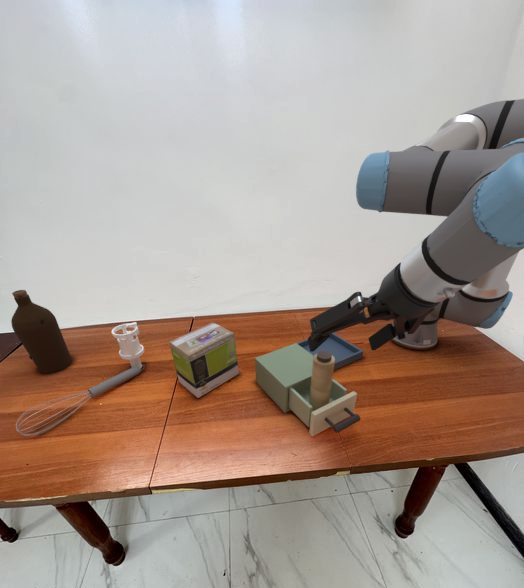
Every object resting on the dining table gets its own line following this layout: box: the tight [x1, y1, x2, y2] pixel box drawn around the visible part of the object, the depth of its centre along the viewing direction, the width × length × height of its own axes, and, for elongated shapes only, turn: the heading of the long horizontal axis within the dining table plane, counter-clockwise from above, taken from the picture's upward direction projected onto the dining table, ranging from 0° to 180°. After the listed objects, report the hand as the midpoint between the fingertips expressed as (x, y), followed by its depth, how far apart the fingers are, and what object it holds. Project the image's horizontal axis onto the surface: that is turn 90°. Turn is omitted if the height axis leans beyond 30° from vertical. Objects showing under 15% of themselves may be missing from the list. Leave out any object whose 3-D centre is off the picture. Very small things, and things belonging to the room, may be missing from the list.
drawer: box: [288, 378, 361, 437], centre depth 72 cm, size 18×13×7 cm
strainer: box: [111, 321, 145, 370], centre depth 89 cm, size 7×7×15 cm
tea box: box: [168, 321, 240, 399], centre depth 83 cm, size 15×10×15 cm, turn 134°
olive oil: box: [10, 289, 73, 374], centre depth 88 cm, size 11×11×25 cm
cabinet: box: [254, 342, 313, 413], centre depth 81 cm, size 15×14×9 cm
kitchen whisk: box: [15, 364, 146, 437], centre depth 79 cm, size 6×34×6 cm, turn 144°
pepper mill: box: [309, 351, 335, 412], centre depth 69 cm, size 5×5×16 cm
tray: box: [296, 332, 364, 371], centre depth 96 cm, size 18×16×3 cm
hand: (341, 344), depth 58 cm, fingers open, 13 cm apart
